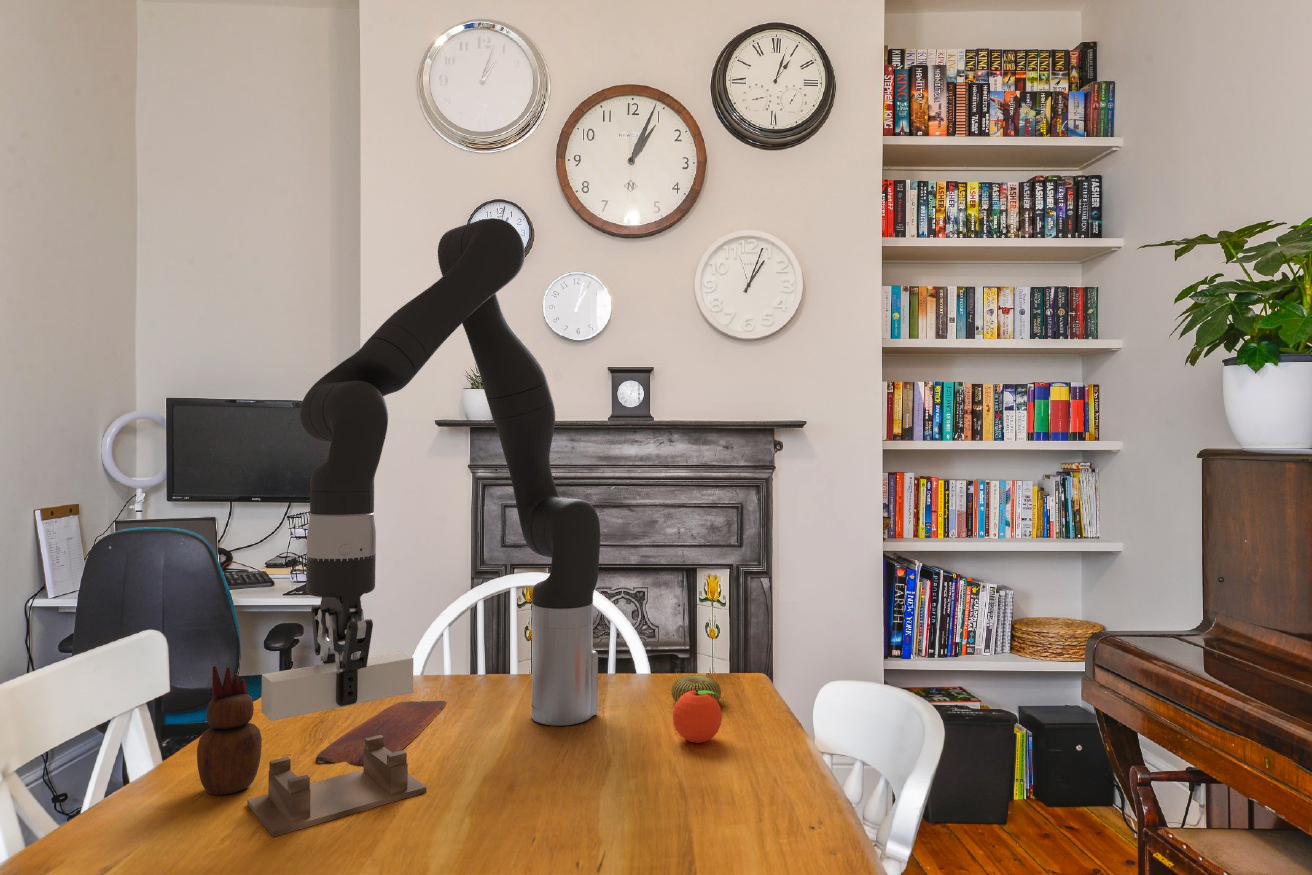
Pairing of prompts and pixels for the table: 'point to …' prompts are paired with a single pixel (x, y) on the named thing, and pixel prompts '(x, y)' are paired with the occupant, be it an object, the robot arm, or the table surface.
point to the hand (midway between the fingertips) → (339, 698)
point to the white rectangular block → (333, 686)
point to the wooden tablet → (383, 731)
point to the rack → (333, 790)
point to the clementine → (697, 716)
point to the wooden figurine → (229, 738)
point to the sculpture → (695, 686)
